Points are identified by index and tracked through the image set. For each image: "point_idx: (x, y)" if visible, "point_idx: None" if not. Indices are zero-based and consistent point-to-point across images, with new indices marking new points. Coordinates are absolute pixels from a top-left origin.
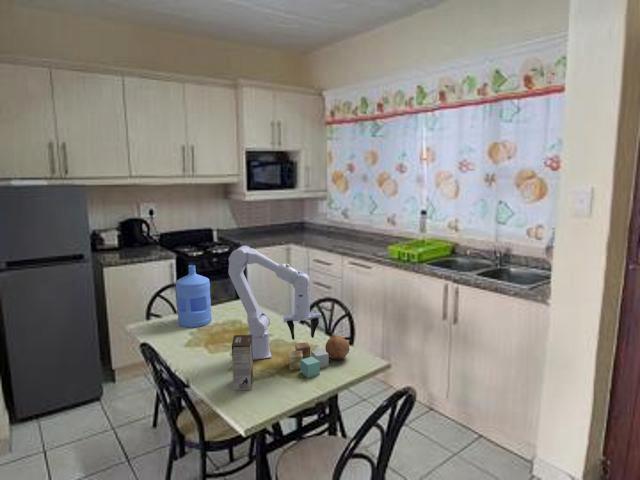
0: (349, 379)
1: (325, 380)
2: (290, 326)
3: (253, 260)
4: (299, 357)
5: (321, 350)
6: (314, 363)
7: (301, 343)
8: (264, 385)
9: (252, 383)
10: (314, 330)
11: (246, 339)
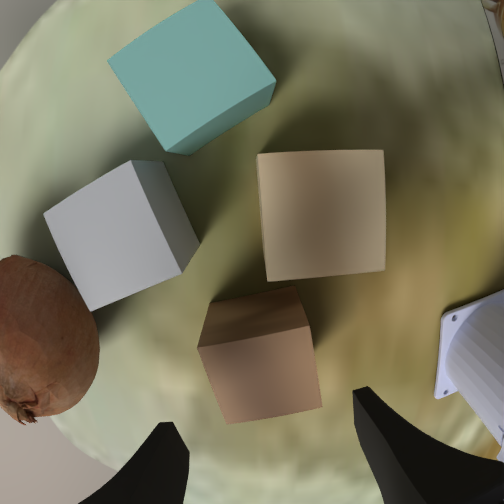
0: (13, 61)
1: (117, 21)
2: (476, 472)
3: None
4: (289, 153)
5: (97, 280)
6: (151, 29)
7: (274, 409)
8: (444, 4)
9: (492, 29)
10: (125, 471)
11: None
